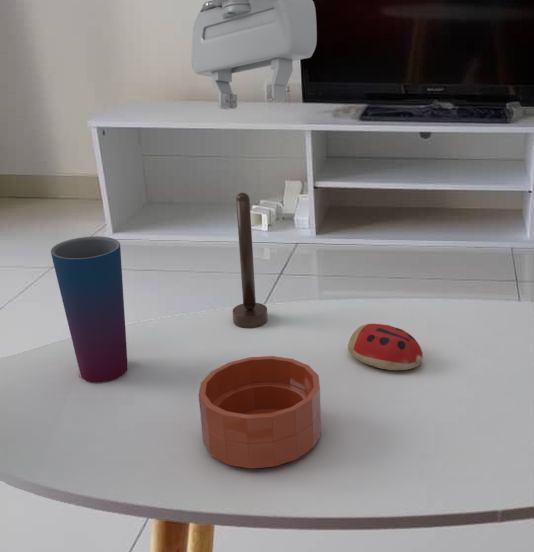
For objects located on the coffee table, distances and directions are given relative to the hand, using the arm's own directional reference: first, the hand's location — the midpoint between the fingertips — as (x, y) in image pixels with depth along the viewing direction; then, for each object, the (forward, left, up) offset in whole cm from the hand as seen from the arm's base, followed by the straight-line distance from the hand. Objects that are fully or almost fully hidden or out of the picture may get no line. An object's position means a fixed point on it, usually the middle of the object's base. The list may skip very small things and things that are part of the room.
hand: (251, 105), depth 92 cm
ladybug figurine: (+15, -17, -27) cm, 35 cm away
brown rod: (-1, -5, -27) cm, 27 cm away
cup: (-17, -16, -27) cm, 36 cm away
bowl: (+1, -32, -27) cm, 41 cm away
